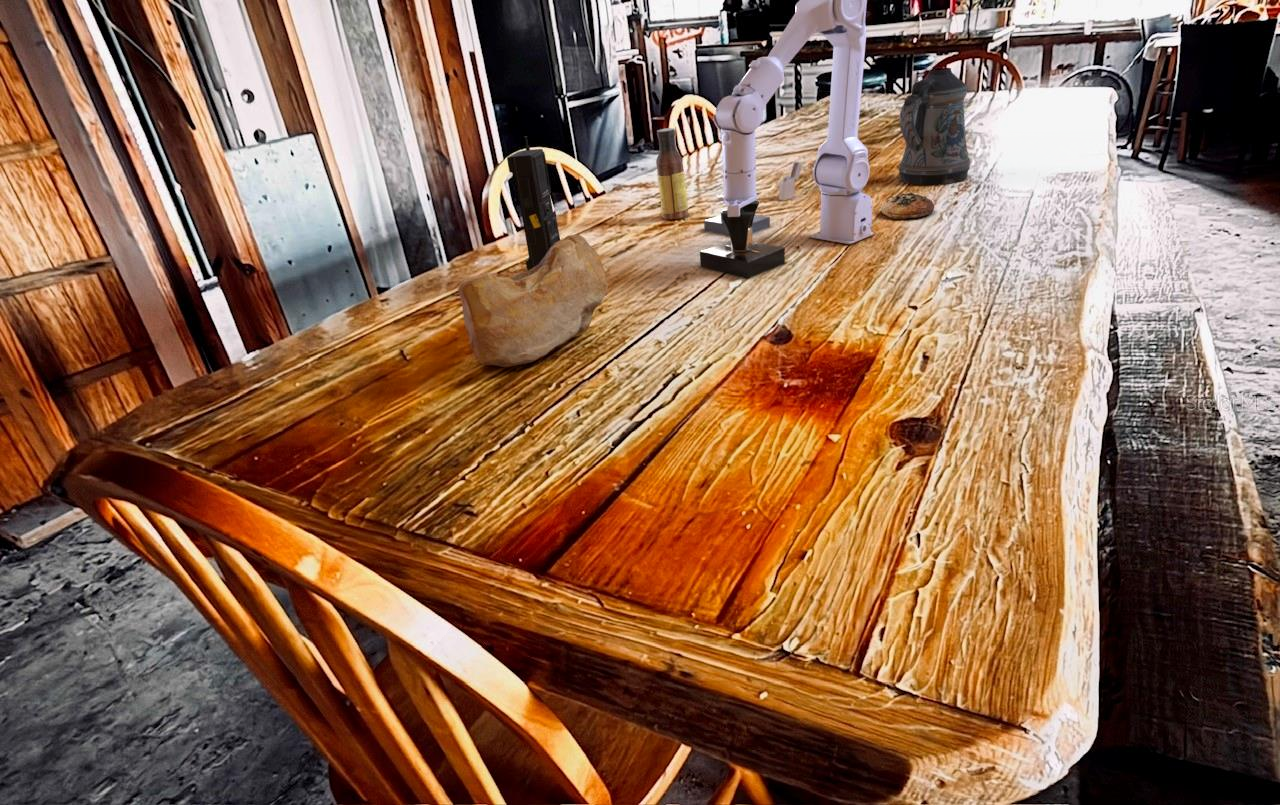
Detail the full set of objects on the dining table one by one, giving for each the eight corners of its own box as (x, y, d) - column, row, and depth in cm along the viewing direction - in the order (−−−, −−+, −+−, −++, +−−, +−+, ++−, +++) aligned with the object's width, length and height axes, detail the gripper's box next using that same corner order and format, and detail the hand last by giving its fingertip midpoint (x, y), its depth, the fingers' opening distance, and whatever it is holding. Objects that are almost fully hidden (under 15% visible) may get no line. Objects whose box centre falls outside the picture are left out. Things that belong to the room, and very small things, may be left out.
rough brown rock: (568, 311, 121) (548, 224, 114) (627, 326, 108) (608, 230, 102) (446, 361, 109) (416, 268, 103) (496, 384, 97) (466, 280, 90)
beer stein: (974, 171, 179) (987, 62, 167) (959, 189, 165) (972, 71, 153) (906, 170, 187) (914, 67, 175) (887, 187, 173) (894, 76, 161)
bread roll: (946, 212, 148) (945, 188, 145) (903, 229, 145) (901, 205, 143) (910, 204, 157) (908, 182, 155) (868, 220, 155) (866, 198, 153)
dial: (754, 245, 131) (753, 222, 129) (751, 252, 128) (750, 228, 126) (732, 246, 132) (731, 223, 130) (729, 252, 129) (728, 229, 127)
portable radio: (555, 278, 135) (533, 141, 124) (526, 278, 137) (501, 143, 125) (566, 265, 142) (547, 134, 130) (538, 266, 143) (516, 136, 132)
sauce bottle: (688, 213, 170) (683, 125, 160) (687, 219, 164) (682, 129, 155) (661, 215, 171) (654, 128, 161) (660, 221, 165) (652, 132, 156)
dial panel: (784, 263, 130) (784, 246, 128) (748, 278, 124) (747, 261, 123) (736, 253, 138) (736, 237, 137) (700, 266, 133) (699, 250, 131)
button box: (770, 227, 152) (769, 208, 150) (741, 237, 147) (741, 218, 145) (732, 220, 160) (731, 202, 158) (704, 230, 155) (703, 212, 153)
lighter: (784, 200, 171) (784, 166, 168) (778, 199, 173) (778, 166, 169) (802, 194, 175) (802, 161, 172) (796, 193, 176) (797, 160, 173)
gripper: (724, 162, 130) (727, 235, 137) (708, 179, 118) (712, 258, 125) (762, 160, 128) (763, 234, 135) (750, 178, 116) (752, 258, 123)
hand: (741, 246), depth 130 cm, fingers closed on dial, 4 cm apart
